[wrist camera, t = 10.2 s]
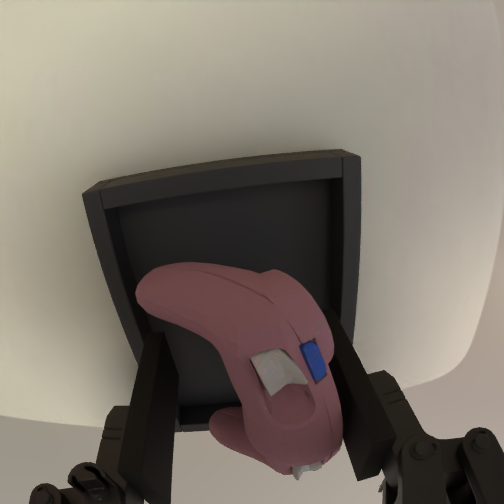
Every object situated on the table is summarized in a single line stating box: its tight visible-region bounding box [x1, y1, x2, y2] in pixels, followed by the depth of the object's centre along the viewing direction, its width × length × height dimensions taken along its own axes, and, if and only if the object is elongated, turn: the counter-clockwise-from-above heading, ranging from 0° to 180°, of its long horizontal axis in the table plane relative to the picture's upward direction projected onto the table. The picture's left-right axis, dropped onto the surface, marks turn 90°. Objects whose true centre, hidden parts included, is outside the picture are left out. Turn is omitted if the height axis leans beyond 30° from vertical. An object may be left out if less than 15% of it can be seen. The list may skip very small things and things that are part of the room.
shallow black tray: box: [82, 149, 361, 432], centre depth 15 cm, size 11×15×2 cm
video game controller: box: [135, 262, 343, 480], centre depth 11 cm, size 10×5×7 cm, turn 13°
